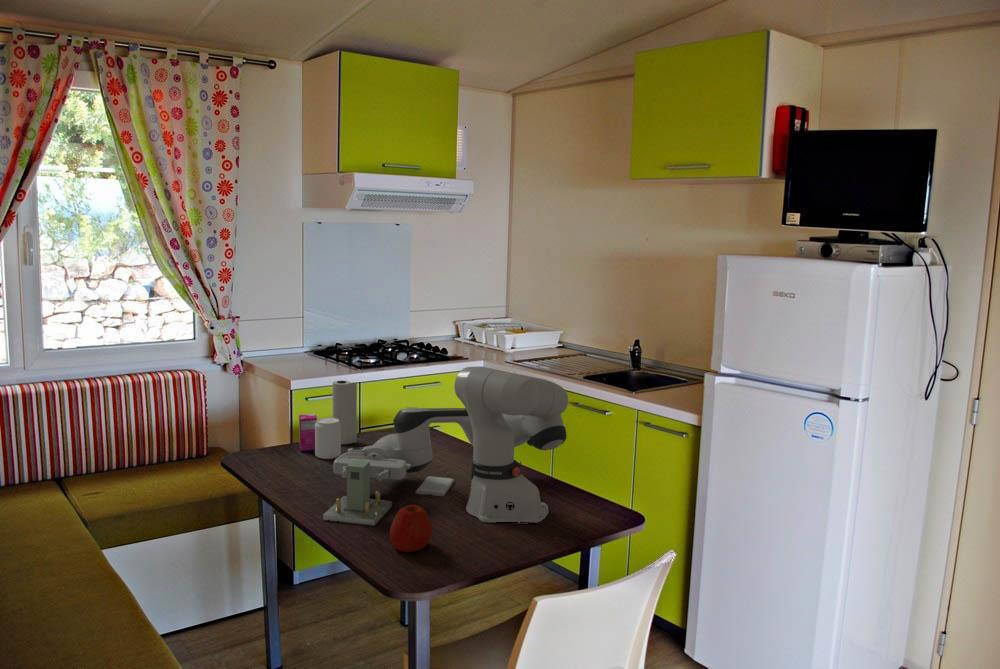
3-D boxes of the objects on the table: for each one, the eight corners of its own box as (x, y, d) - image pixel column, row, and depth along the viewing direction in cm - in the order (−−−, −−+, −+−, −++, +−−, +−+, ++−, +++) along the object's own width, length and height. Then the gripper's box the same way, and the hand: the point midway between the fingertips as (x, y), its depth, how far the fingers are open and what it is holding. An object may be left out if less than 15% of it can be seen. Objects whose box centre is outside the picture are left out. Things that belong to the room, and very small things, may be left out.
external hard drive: (453, 483, 244) (443, 498, 232) (427, 481, 246) (415, 495, 233) (453, 478, 244) (443, 492, 232) (427, 476, 245) (415, 490, 233)
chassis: (391, 506, 223) (392, 488, 222) (374, 525, 210) (374, 507, 209) (343, 501, 226) (343, 483, 225) (323, 520, 212) (323, 501, 211)
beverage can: (316, 452, 268) (316, 417, 266) (341, 452, 269) (341, 417, 267) (313, 460, 260) (313, 423, 258) (339, 460, 261) (339, 423, 259)
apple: (432, 556, 193) (432, 514, 191) (388, 556, 192) (388, 514, 190) (432, 538, 203) (433, 498, 201) (390, 538, 202) (391, 498, 200)
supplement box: (299, 447, 273) (298, 414, 271) (317, 446, 275) (316, 413, 273) (299, 452, 267) (299, 418, 266) (318, 451, 269) (318, 417, 267)
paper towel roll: (328, 442, 279) (328, 381, 275) (341, 438, 284) (341, 379, 280) (343, 446, 275) (343, 385, 271) (356, 442, 280) (356, 382, 276)
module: (369, 504, 219) (370, 461, 217) (363, 511, 215) (363, 467, 213) (353, 502, 220) (354, 460, 218) (346, 509, 215) (346, 465, 213)
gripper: (412, 474, 231) (397, 491, 218) (344, 468, 235) (325, 484, 221) (413, 453, 230) (398, 468, 217) (344, 447, 234) (325, 462, 220)
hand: (360, 476), depth 219 cm, fingers open, 8 cm apart
